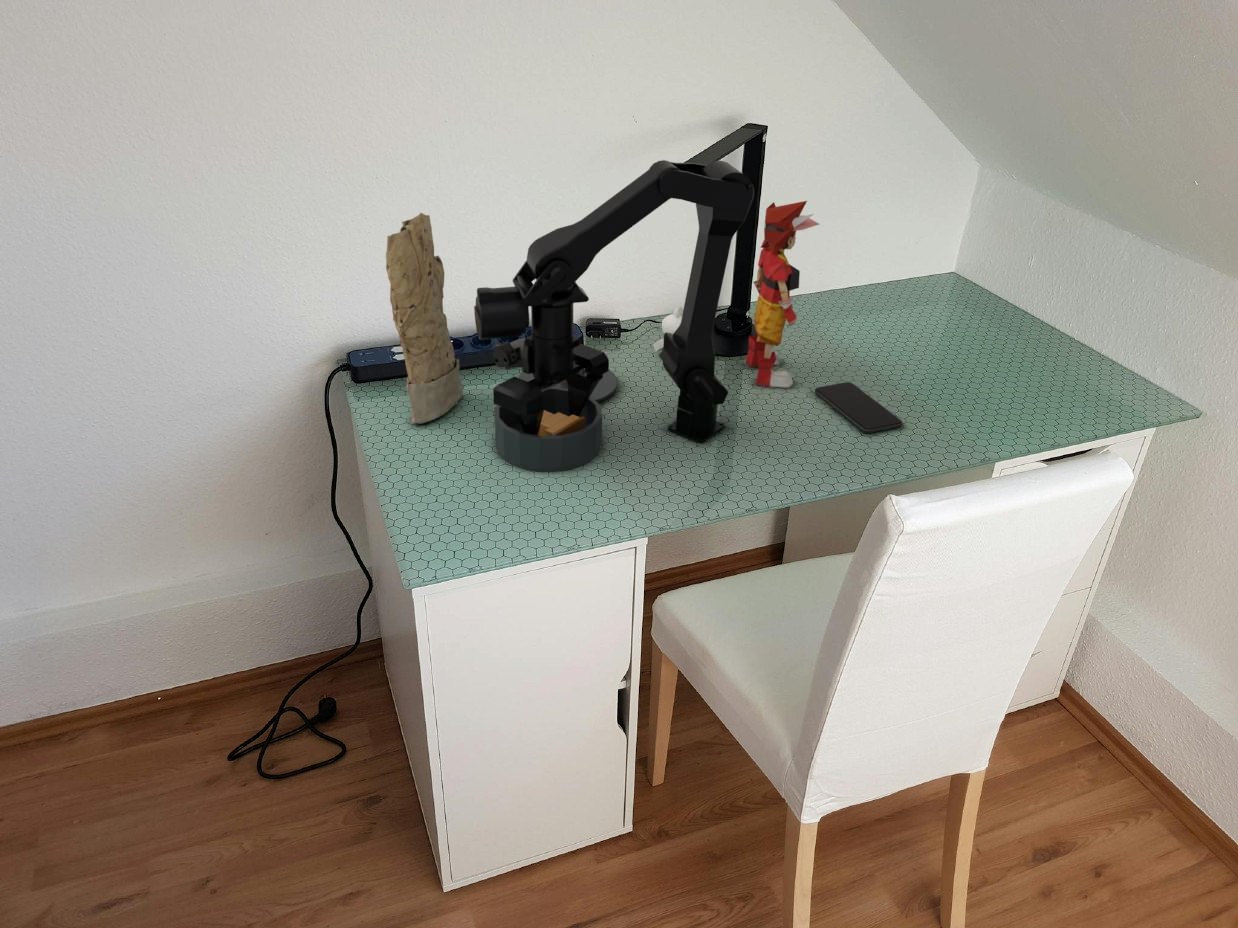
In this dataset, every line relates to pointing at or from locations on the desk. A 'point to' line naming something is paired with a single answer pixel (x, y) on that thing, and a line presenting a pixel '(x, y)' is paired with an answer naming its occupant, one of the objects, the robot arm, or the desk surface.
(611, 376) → the pan lid
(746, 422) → the desk surface
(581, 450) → the pan
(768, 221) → the toy
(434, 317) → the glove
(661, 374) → the desk surface
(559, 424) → the tan stepped block
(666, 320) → the figurine
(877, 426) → the smartphone
